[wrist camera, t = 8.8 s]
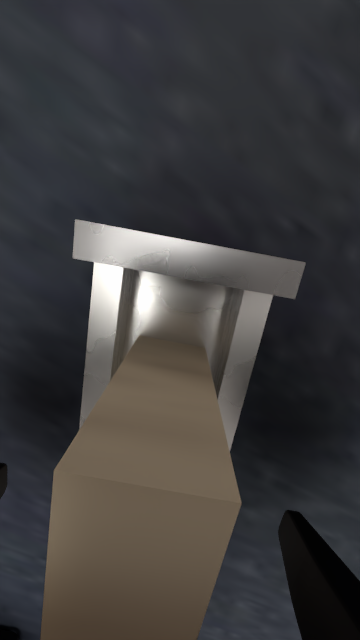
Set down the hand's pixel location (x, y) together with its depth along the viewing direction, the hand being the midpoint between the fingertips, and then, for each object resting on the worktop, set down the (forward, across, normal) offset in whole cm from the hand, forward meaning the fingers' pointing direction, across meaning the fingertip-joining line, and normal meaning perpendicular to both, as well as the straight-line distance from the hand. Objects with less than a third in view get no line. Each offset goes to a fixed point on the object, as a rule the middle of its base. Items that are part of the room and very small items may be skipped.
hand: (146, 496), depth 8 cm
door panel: (+4, 0, 0) cm, 4 cm away
